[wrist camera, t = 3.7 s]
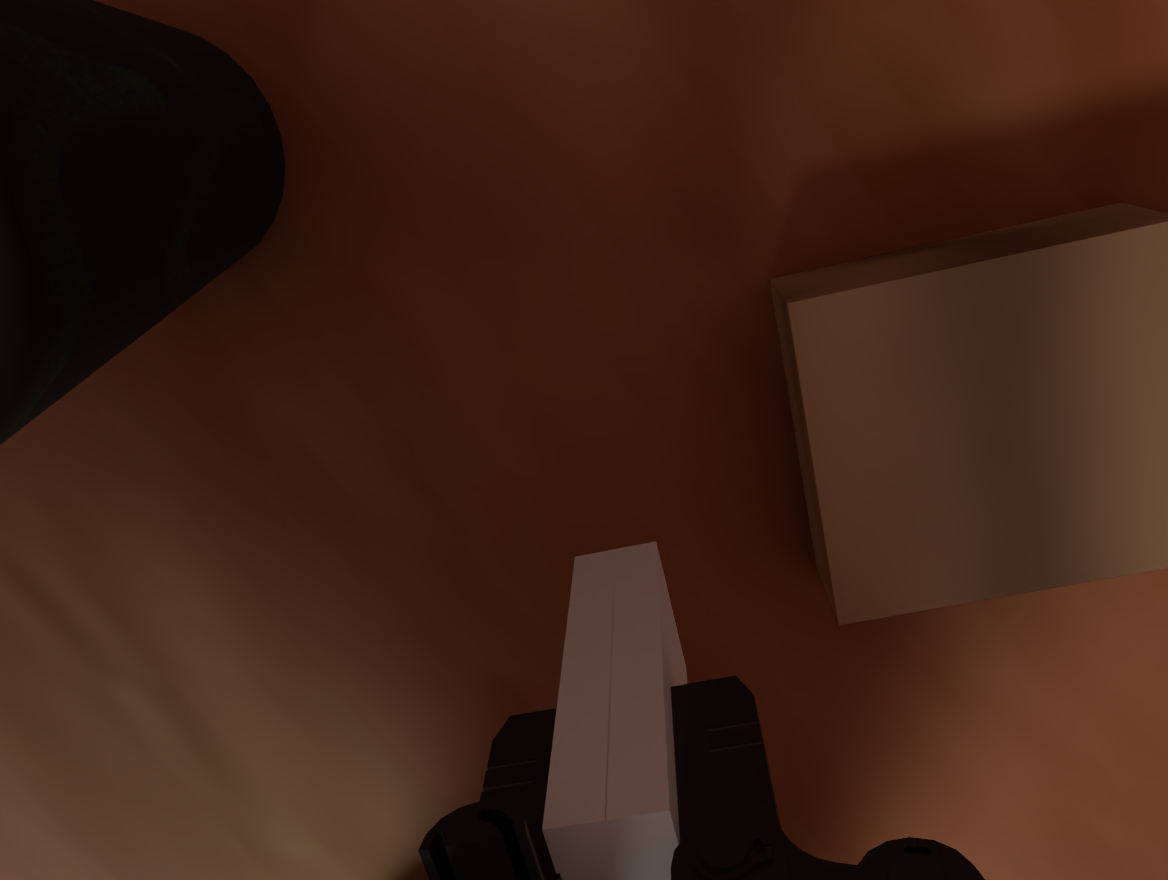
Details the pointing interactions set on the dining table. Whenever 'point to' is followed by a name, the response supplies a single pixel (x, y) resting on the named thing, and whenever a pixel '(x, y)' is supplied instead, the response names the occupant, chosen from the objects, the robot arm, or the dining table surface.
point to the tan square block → (983, 411)
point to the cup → (115, 186)
